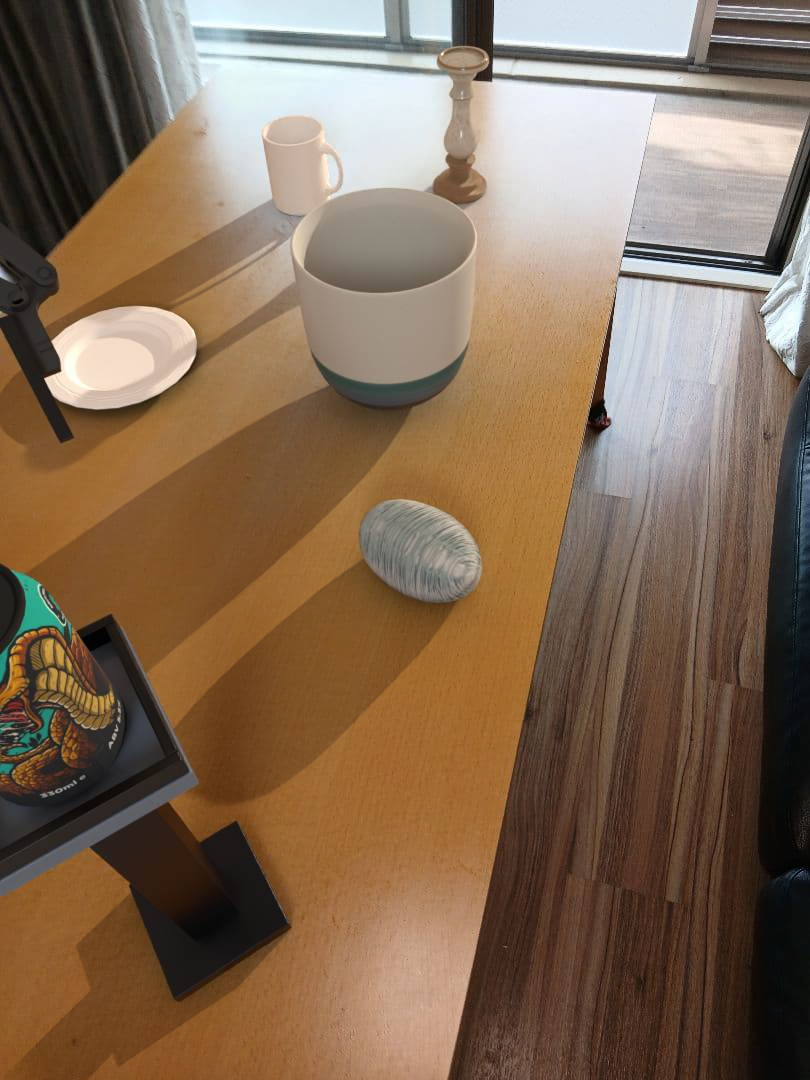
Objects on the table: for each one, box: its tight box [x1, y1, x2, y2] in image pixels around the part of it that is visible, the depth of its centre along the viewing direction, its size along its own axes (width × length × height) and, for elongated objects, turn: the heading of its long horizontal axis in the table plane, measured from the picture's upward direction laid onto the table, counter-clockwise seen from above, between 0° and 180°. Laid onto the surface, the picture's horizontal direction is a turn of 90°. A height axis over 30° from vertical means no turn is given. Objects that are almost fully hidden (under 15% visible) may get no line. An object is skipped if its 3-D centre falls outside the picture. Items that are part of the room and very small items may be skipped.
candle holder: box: [432, 45, 490, 204], centre depth 126 cm, size 9×9×20 cm
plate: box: [44, 305, 198, 411], centre depth 109 cm, size 21×21×2 cm
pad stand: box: [0, 613, 292, 1003], centre depth 54 cm, size 10×10×36 cm
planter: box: [289, 187, 478, 412], centre depth 97 cm, size 20×20×21 cm
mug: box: [261, 114, 344, 217], centre depth 128 cm, size 10×12×12 cm
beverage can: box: [0, 562, 127, 807], centre depth 36 cm, size 7×7×12 cm
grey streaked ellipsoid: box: [358, 498, 483, 604], centre depth 85 cm, size 14×10×10 cm
